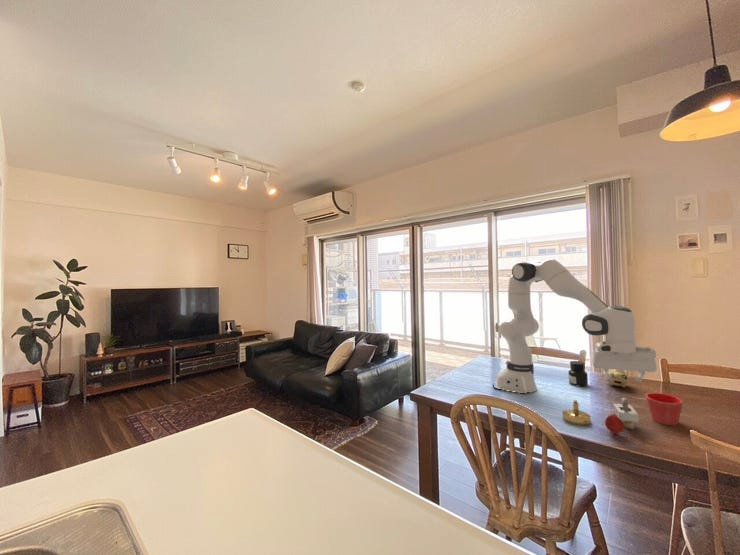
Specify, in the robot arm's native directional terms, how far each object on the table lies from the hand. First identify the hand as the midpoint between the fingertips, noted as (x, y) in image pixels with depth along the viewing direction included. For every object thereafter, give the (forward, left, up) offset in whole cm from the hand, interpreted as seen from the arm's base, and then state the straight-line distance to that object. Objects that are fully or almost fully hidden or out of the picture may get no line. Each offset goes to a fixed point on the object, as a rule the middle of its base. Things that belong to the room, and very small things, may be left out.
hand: (623, 380), depth 125 cm
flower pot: (+15, +10, -19) cm, 26 cm away
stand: (0, 0, -19) cm, 19 cm away
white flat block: (0, 0, -15) cm, 15 cm away
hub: (-17, -1, -19) cm, 25 cm away
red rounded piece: (-6, -9, -19) cm, 22 cm away
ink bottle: (-10, +48, -19) cm, 53 cm away
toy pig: (+8, +50, -19) cm, 54 cm away
